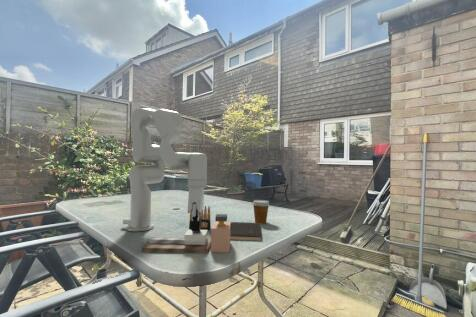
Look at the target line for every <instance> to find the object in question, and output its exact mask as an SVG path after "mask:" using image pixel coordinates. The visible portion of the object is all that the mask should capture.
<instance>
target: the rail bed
mask: <svg viewBox="0 0 476 317" xmlns="http://www.w3.org/2000/svg"><path fill="white" fill-rule="evenodd" d="M210 249H211V237H209V238H208V237H207V239H206V244H205V245H185V242H184V237H150V239H149V241H148V242H146V243H145V244H144V245H143V246H142V247H141V253H185V254H186V253H190V254H192V253H193V254H194V253H195V254H208V253H209V251H210Z"/></svg>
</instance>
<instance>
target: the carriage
mask: <svg viewBox="0 0 476 317" xmlns="http://www.w3.org/2000/svg"><path fill="white" fill-rule="evenodd" d="M199 221H200V224H201V214H199ZM183 236H184V237H183V238H184V242H185V245H205V244H206V239H207V238H208V230H199V231H191V230H189V229H187V230H186V232H185V233H184V235H183Z"/></svg>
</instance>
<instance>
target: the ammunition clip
mask: <svg viewBox="0 0 476 317" xmlns="http://www.w3.org/2000/svg"><path fill="white" fill-rule="evenodd" d="M191 221H192V211H191V212H190V213H189V223H188V224H189V225H188V230H191ZM211 225H212V222H211V207H210V205H208V206H207V205H205V206H204V207H203V210H202V211H201V228H200V230H207V231H211V228H212V226H211Z"/></svg>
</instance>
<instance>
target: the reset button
mask: <svg viewBox="0 0 476 317" xmlns="http://www.w3.org/2000/svg"><path fill="white" fill-rule="evenodd" d="M214 222H219V226H224V222H228V214H227V213H226V214H225V213H224V214H222V213H216V214H215V220H214Z"/></svg>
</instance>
